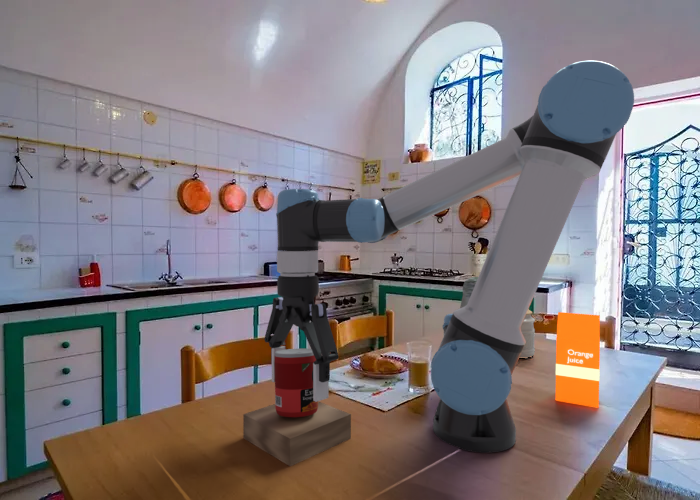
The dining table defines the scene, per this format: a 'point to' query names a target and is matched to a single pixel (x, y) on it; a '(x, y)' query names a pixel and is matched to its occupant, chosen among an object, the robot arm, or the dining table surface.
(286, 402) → the canned food
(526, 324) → the jar
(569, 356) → the orange juice
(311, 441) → the walnut block
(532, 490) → the dining table surface
